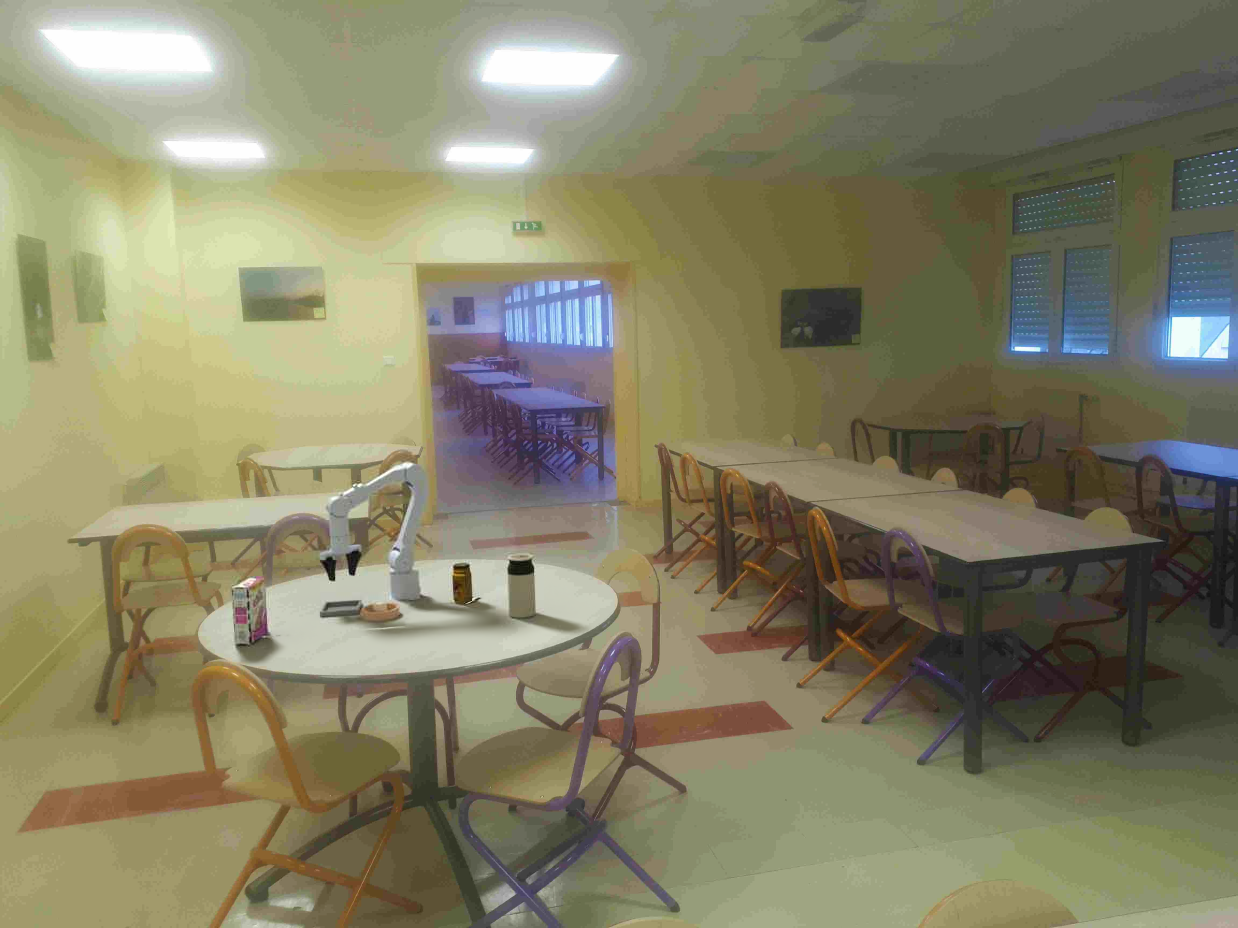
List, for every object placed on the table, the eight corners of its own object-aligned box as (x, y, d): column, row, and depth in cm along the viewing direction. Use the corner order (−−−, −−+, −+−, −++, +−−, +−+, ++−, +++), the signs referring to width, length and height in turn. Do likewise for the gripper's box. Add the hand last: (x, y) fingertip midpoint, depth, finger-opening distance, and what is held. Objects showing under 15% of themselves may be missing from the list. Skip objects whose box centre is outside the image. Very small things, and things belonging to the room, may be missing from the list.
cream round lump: (387, 612, 270) (387, 600, 270) (387, 615, 266) (386, 604, 266) (374, 613, 269) (373, 601, 269) (373, 617, 265) (372, 605, 265)
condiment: (447, 603, 282) (446, 566, 280) (462, 595, 290) (460, 559, 288) (467, 605, 279) (466, 567, 277) (481, 597, 287) (480, 561, 285)
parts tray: (362, 605, 280) (361, 599, 280) (358, 615, 270) (357, 609, 269) (325, 608, 278) (325, 602, 278) (320, 618, 268) (319, 612, 267)
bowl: (400, 610, 274) (400, 601, 274) (398, 621, 263) (397, 611, 263) (364, 613, 272) (363, 603, 272) (360, 623, 262) (359, 614, 261)
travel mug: (531, 619, 263) (529, 559, 261) (505, 618, 265) (503, 559, 262) (538, 611, 271) (537, 553, 268) (513, 610, 272) (511, 552, 270)
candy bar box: (252, 645, 244) (248, 587, 242) (234, 645, 244) (229, 587, 242) (269, 632, 255) (265, 577, 253) (252, 632, 255) (248, 577, 253)
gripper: (350, 529, 284) (352, 571, 286) (311, 538, 273) (314, 581, 274) (364, 532, 280) (367, 574, 282) (326, 540, 269) (329, 584, 270)
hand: (342, 577), depth 278 cm, fingers open, 7 cm apart
